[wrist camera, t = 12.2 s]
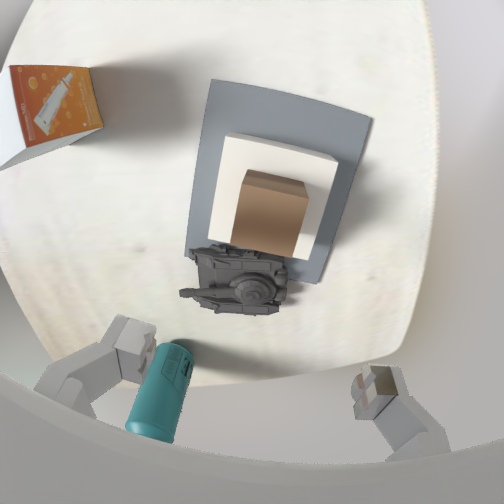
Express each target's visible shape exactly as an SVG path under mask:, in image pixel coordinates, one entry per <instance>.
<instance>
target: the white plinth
mask: <svg viewBox="0 0 504 504" xmlns="http://www.w3.org/2000/svg"><path fill="white" fill-rule="evenodd" d="M337 166H338V162H337V161H336V160H335V159H334V158H333V157H332V156H331V155H329V154H325V153H321V152H318V151H314V150H310V149H306V148H302V147H298V146H294V145H290V144H286V143H282V142H278V141H273V140H269V139H264V138H260V137H255V136H250V135H245V134H240V133H235V132H231V133H229V134H228V135H226V136H225V141H224V146H223V151H222V157H221V162H220V168H219V173H218V179H217V185H216V191H215V196H214V202H213V208H212V215H211V221H210V227H209V234H208V239H211V240H216V241H221V242H225V243H230V239H231V234H232V229H233V224H234V219H235V214H236V209H237V204H238V199H239V194H240V189H241V184H242V181H243V179H244V176H245V174H246V172H247V169H250V170H255V171H259V172H264V173H268V174H273V175H277V176H281V177H286V178H290V179H294V180H298V181H302V182H304V185H305V188H306V191H307V194H308V197H309V202H308V206H307V209H306V213H305V216H304V219H303V223H302V226H301V230H300V233H299V236H298V240H297V243H296V246H295V250H294V253H293V256H292V257H294V258H299V259H304V260H308V259H309V256H310V253H311V250H312V247H313V244H314V241H315V238H316V235H317V232H318V228H319V225H320V222H321V219H322V216H323V213H324V210H325V206H326V203H327V200H328V197H329V193H330V190H331V187H332V183H333V180H334V176H335V173H336V170H337Z"/></svg>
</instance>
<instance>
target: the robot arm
mask: <svg viewBox="0 0 504 504" xmlns="http://www.w3.org/2000/svg"><path fill="white" fill-rule="evenodd" d="M155 334H156V326H155V325H153V324H149V323H146V322H143V321H139V320H136V319H133V318H129V317H126V316H123V315H120V314H118V315H117V316H116V317H115V318H114V320H113V321H112V323H111V325H110V326H109V328H108V330H107V331H106V333H105V335H104V336H103V338H102V340H101V341H100V343H97V342H95V343H93V344H91V345H89V346H87V347H85V348H83V349H81V350H79V351H77V352H75V353H73V354H71V355H69V356H67V357H65V358H63V359H61V360H59V361H57V362H55V363H53V364H51V365H49V366H48V367H47V368H46V370H45V372H44V373H43V375H42V377H41V378H40V380H39V381H38V383H37V385H36V386H35V388H34V390H32V389H30V388H28V387H27V386H25V385H23V384H21V383H20V382H18V381H16V380H14V379H13V378H11V377H9V376H8V375H6V374H5V373H3V372H1V371H0V504H504V439H499V440H496V441H492V442H489V443H486V444H482V445H478V446H475V447H471V448H467V449H462V450H458V451H454V452H451V449H450V446H449V442H448V438H447V435H446V432H445V429H444V428H443V427H442V426H441V425H440V424H439V423H438V422H437V421H436V420H435V419H434V418H433V417H432V416H431V415H430V414H429V413H428V412H427V411H426V410H425V409H424V408H423V407H422V406H421V405H420V404H419V403H418V402H417V401H416V400H415V398H413V396H409V394H408V390H407V387H406V384H405V381H404V378H403V374H402V372H401V368H400V367H399V366H395V365H394V366H393V365H382V364H368V363H367V364H365V365H364V366H363V367H362V369H361V371H362V373H361V374H359V375H357V376H356V377H355V379H354V381H353V383H352V387H351V394H352V398H353V399H354V400H355V401H356V403H355V404H354V413H355V419H356V420H373V422H374V423H375V425H376V426H377V428H378V429H379V430H380V432H381V433H382V435H383V436H384V437H385V439H386V440H387V442H388V443H389V445H390V446H391V447H392V449H393V450H394V453H393V454H392V455H390V456H389V457H388V458H387V459H386V460H385V461H386V462H379V463H365V464H299V463H284V462H272V461H262V460H253V459H246V458H238V457H232V456H226V455H220V454H215V453H209V452H205V451H200V450H195V449H190V448H186V447H182V446H178V445H174V444H170V443H166V442H163V441H159V440H155V439H152V438H148V437H145V436H142V435H139V434H136V433H132V432H129V431H126V430H123V429H121V428H118V427H115V426H112V425H109V424H107V423H104V422H102V421H99V420H96V415H95V413H94V411H93V408H92V406H91V404H90V403H91V402H93V401H94V400H95V399H97V398H98V397H100V396H101V395H103V394H104V393H105V392H107V391H108V390H110V389H111V388H112V387H114V386H115V385H116V384H118V383H119V382H121V381H122V379H123V380H127V381H130V382H133V383H137V384H141V385H143V384H144V381H145V379H146V376H147V374H148V365H149V364H151V363H152V361H153V359H154V355H155V351H156V339H155V338H154V336H155Z"/></svg>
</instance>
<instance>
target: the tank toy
mask: <svg viewBox="0 0 504 504" xmlns="http://www.w3.org/2000/svg"><path fill="white" fill-rule="evenodd" d="M188 252H189V258H190V259H192V260H195V263H196V265H198V274H199V285H200V289H194V288H185V289H181V290H179V294H180V297H183V298H185V297H186V298H189V297H193V299H194V300H196V302H199V303H200V304H201V306H200V307H203V308H208V309H212V310H215V311H214V313H215V314H219V313H236V314H244V315H254V316H256V315H270V314H273V313H276V312H279V305H281V301H284V300H285V297H286V291H287V288H286V283H287V278H288V272H287V267H286V266H283V263H284V256H279V255H275V254H270V253H266V252H261V251H256V250H252V249H233V248H231V249H227V245H219V246H217V245H215V244H212V245H211V246H209V248H204V247H199V248H196V249H189V251H188Z"/></svg>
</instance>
